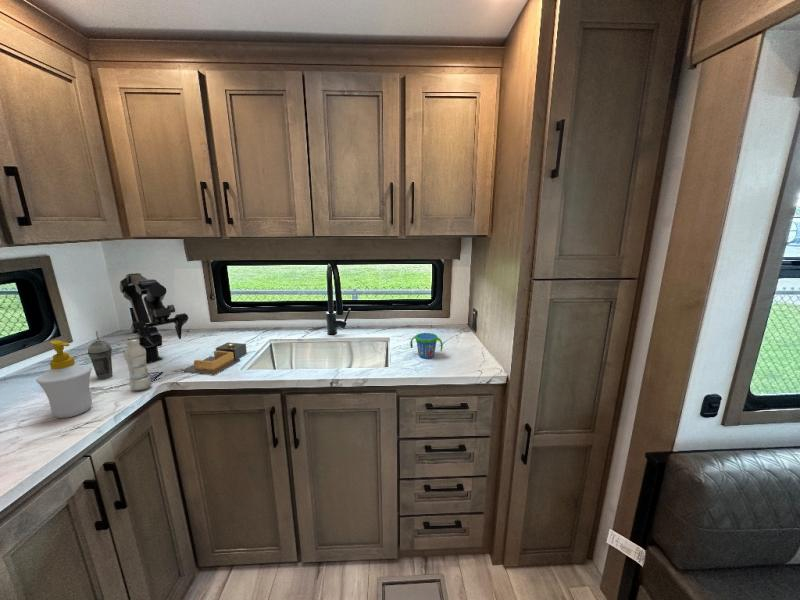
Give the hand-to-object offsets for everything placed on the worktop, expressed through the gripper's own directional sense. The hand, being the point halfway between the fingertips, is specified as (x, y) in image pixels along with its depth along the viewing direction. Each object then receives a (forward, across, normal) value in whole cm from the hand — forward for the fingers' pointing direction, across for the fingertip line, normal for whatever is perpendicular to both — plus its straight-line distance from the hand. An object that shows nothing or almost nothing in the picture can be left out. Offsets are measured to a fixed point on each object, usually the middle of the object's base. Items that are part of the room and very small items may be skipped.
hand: (167, 341), depth 132 cm
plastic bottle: (+15, -11, +6) cm, 19 cm away
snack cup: (+52, +84, -49) cm, 110 cm away
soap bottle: (+16, -30, +4) cm, 34 cm away
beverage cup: (+1, -18, +25) cm, 31 cm away
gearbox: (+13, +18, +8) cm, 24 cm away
